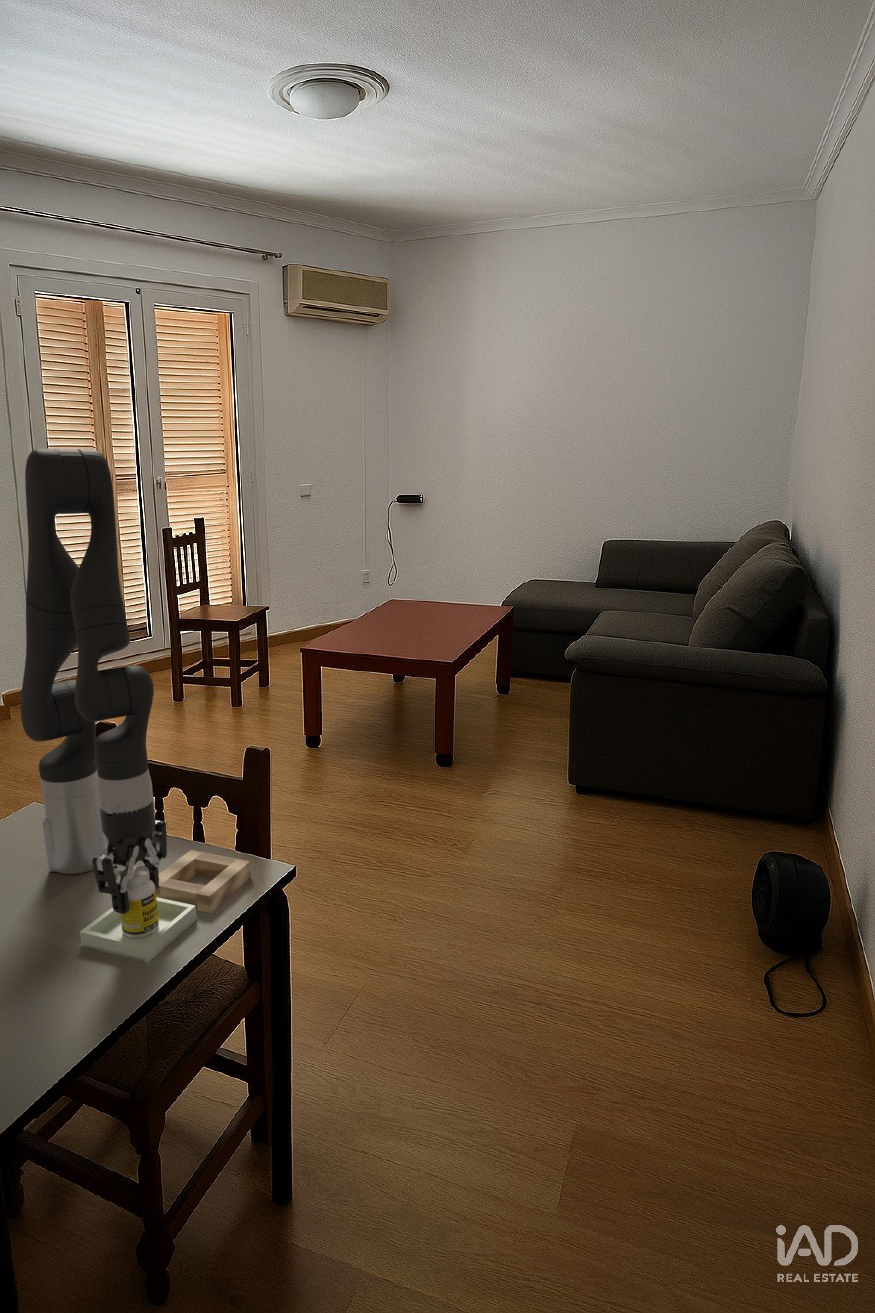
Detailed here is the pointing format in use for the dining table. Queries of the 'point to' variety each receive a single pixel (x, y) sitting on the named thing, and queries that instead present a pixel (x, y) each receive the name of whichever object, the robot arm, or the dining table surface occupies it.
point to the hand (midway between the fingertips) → (137, 900)
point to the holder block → (221, 868)
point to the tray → (111, 939)
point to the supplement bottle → (140, 905)
